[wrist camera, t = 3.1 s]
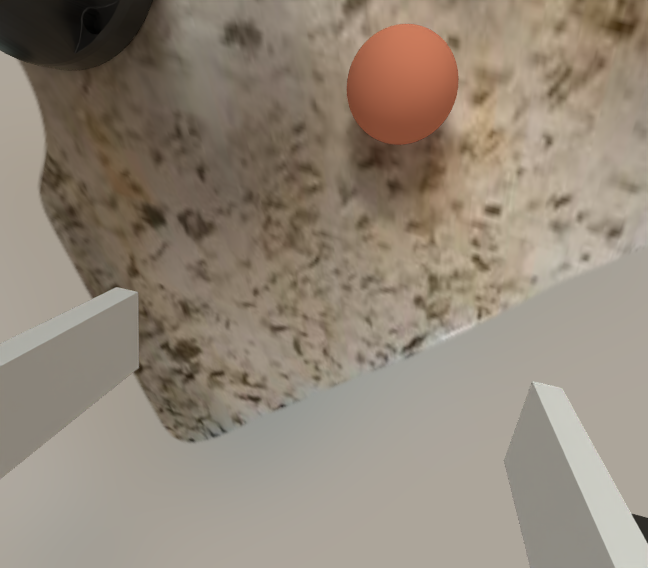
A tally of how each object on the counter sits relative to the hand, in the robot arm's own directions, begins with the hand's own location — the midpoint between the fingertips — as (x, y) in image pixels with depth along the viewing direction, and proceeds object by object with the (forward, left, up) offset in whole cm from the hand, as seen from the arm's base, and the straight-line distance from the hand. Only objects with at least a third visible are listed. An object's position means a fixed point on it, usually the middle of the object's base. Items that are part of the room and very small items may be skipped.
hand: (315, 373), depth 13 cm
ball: (0, +9, -15) cm, 18 cm away
